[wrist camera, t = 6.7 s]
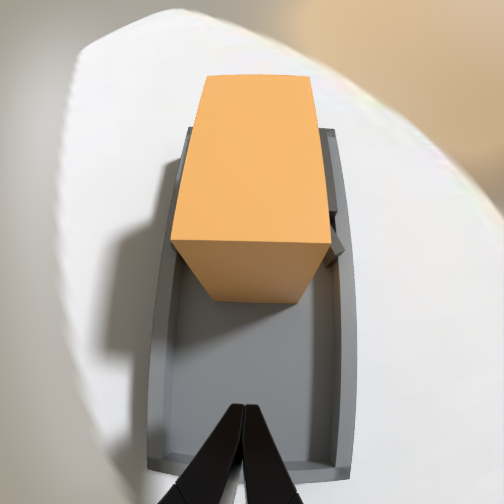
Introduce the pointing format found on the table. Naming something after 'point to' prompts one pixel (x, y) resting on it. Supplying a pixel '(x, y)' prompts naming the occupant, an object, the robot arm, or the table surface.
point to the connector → (254, 190)
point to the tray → (259, 355)
